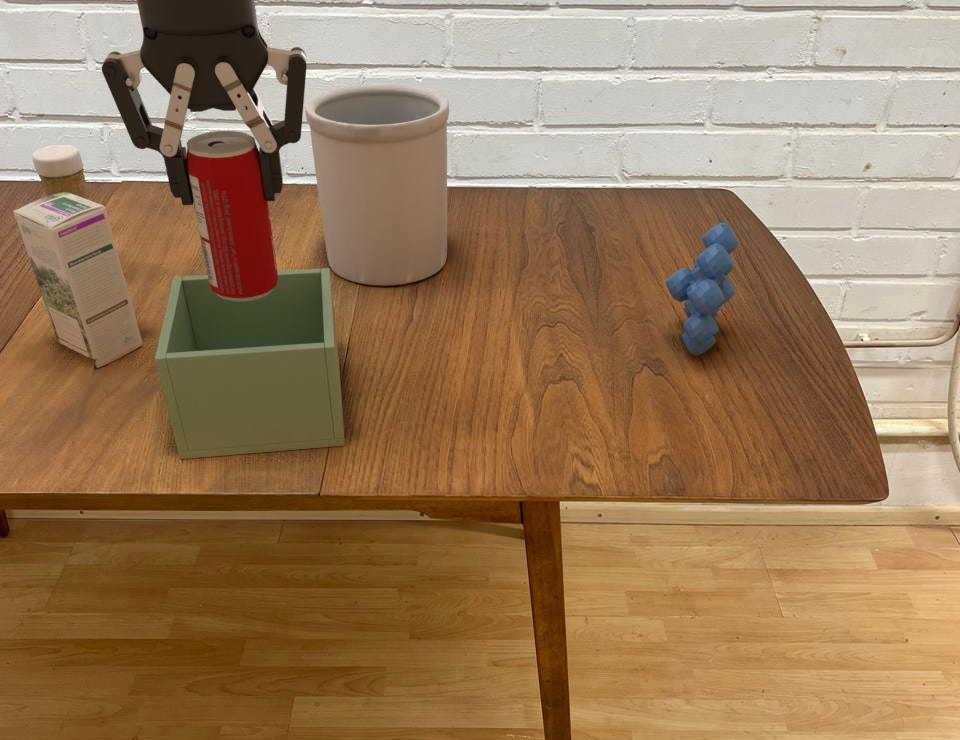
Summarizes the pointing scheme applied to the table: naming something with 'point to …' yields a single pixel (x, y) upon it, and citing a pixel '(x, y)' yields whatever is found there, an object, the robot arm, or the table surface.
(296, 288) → the bin
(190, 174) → the soda can
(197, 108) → the robot arm
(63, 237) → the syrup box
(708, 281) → the grapes
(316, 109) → the utensil holder
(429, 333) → the table surface
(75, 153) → the sprinkles bottle
